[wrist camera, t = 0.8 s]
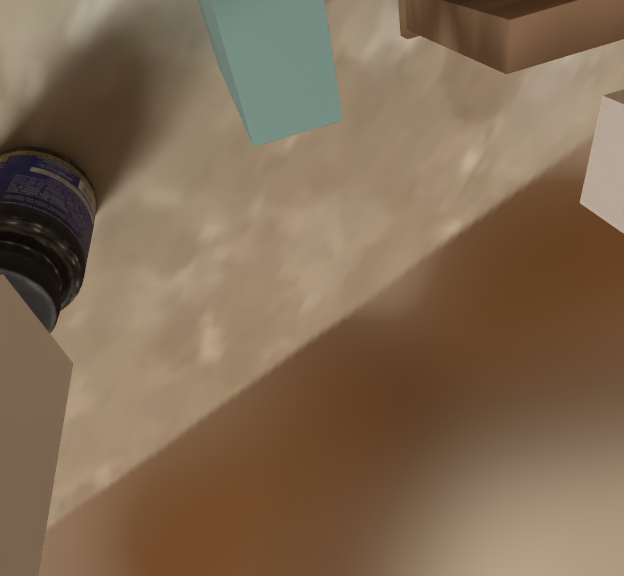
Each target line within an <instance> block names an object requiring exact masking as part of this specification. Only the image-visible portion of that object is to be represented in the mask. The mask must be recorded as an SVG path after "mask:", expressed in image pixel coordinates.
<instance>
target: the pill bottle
mask: <svg viewBox="0 0 624 576" xmlns="http://www.w3.org/2000/svg"><path fill="white" fill-rule="evenodd" d="M96 211H97V200H96V193H95V191H94V188H93V186H92V184H91V182H90V181H89V179H88V177H87V176H86V174H85V173H84V172H83V171H82V170H81V169H80V168H79V167H77V166H76V165H75V164H74V163H73V162H72V161H70V160H68V159H67V158H66V157H64V156H61V155H59V154H57V153H55V152H52V151H49V150H46V149H40V148H33V147H26V148H17V149H13V150H9V151H6V152H2V153H0V275H2V274H3V275H4V276H5V277H6V279H7V280H8V281H9V282H10V284H11V285H12V286H13V288H14V289H15V290H16V291H17V293H18V294H19V295H20V296H21V298H22V299H23V300H24V301H25V303H26V304H27V305H28V307H29V308H30V309H31V310H32V312H33V313H34V314H35V315H36V317H37V318H38V319H39V321H40V322H41V323H42V324H43V326H44V327H45V328H46V329H47V331H48V332H49V333H51V332H52V331H53V329H54V327H55V325H56V323H57V320H58V316H59V313H60V311H61V310H62V309H64V308H65V307H66V306H67V305H69V304H70V303H71V302H72V301H73V299H74V298H75V297H76V296H77V294H78V292H79V290H80V288H81V286H82V282H83V278H84V274H85V268H86V263H87V258H88V253H89V247H90V243H91V237H92V232H93V227H94V221H95V215H96Z"/></svg>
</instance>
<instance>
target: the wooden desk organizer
mask: <svg viewBox="0 0 624 576" xmlns="http://www.w3.org/2000/svg"><path fill="white" fill-rule="evenodd" d="M398 1H399V16H400V30H401V36H402V37H404V38H406V39H410V38H414V37H417V36H422V37H425V38H427V39H429V40H431V41H433V42H436V43H438V44H440V45H442V46H445V47H447V48H449V49H451V50H454V51H456V52H458V53H460V54H462V55H465V56H467V57H469V58H471V59H474V60H476V61H478V62H480V63H482V64H485V65H487V66H489V67H491V68H494V69H496V70H498V71H500V72H503V73H505V74H509V73H512V72H515V71H519V70H522V69H525V68H529V67H532V66H535V65H539V64H542V63H545V62H549V61H552V60H555V59H559V58H562V57H565V56H569V55H572V54H575V53H579V52H582V51H585V50H589V49H592V48H595V47H599V46H602V45H605V44H609V43H612V42H615V41H619V40H622V39H624V0H398Z"/></svg>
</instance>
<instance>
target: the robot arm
mask: <svg viewBox="0 0 624 576" xmlns="http://www.w3.org/2000/svg"><path fill="white" fill-rule="evenodd" d="M580 203H581V204H582V205H584V206H585V207H586V208H588V209H589V210H591V211H592V212H594V213H595V214H597V215H598V216H599V217H601V218H602V219H604V220H605V221H607V222H608V223H609V224H611V225H612V226H614V227H615V228H617V229H618V230H619V231H621V232H622V233H624V90H620V91H617V92H614V93H610V94H607V95H604V96H603V98H602V103H601V107H600V112H599V117H598V121H597V126H596V131H595V135H594V140H593V144H592V149H591V154H590V159H589V163H588V167H587V172H586V177H585V182H584V186H583V191H582V195H581V200H580ZM72 367H73V362H72V361H71V360H70V359H69V357H68V356H67V355H66V354H65V352H64V351H63V350H62V348H61V347H60V346H59V345H58V343H57V342H56V341H55V340H54V338H53V337H52V336H51V334H50V333H49V332H48V331H47V329H46V328H45V327H44V326H43V324H42V323H41V322H40V321H39V319H38V318H37V317H36V315H35V314H34V313H33V312H32V310H31V309H30V308H29V307H28V305H27V304H26V303H25V301H24V300H23V299H22V298H21V296H20V295H19V294H18V293H17V291H16V290H15V289H14V288H13V286H12V285H11V284H10V282H9V281H8V280H7V279H6V277H5V276H4V275H3V274H2V275H0V576H38V574H39V568H40V562H41V556H42V550H43V544H44V538H45V532H46V526H47V520H48V514H49V507H50V501H51V495H52V489H53V483H54V477H55V471H56V465H57V459H58V453H59V446H60V440H61V434H62V428H63V422H64V416H65V410H66V404H67V398H68V392H69V385H70V379H71V373H72Z"/></svg>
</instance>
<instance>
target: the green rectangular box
mask: <svg viewBox="0 0 624 576" xmlns="http://www.w3.org/2000/svg"><path fill="white" fill-rule="evenodd" d="M199 2H200V6H201V9H202V12H203V15H204V19H205V22H206V25H207V29H208V32H209V35H210V38H211V42H212V45H213V48H214V52H215V55H216V58H217V61H218V65H219V68H220V70H221V73H222V75H223V77H224V80H225V82H226V84H227V87H228V89H229V91H230V94H231V96H232V98H233V101H234V103H235V105H236V107H237V110H238V112H239V114H240V117H241V119H242V121H243V124H244V126H245V128H246V131H247V133H248V135H249V138H250V140H251V142H252V145H253V147H256V146H259V145H262V144H266V143H269V142H272V141H276V140H279V139H282V138H286V137H289V136H292V135H296V134H299V133H302V132H306V131H309V130H312V129H316V128H319V127H322V126H326V125H329V124H332V123H336V122H339V121H342V120H343V116H342V110H341V104H340V97H339V91H338V84H337V78H336V72H335V65H334V59H333V52H332V46H331V40H330V33H329V27H328V20H327V14H326V8H325V1H324V0H199Z"/></svg>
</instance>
